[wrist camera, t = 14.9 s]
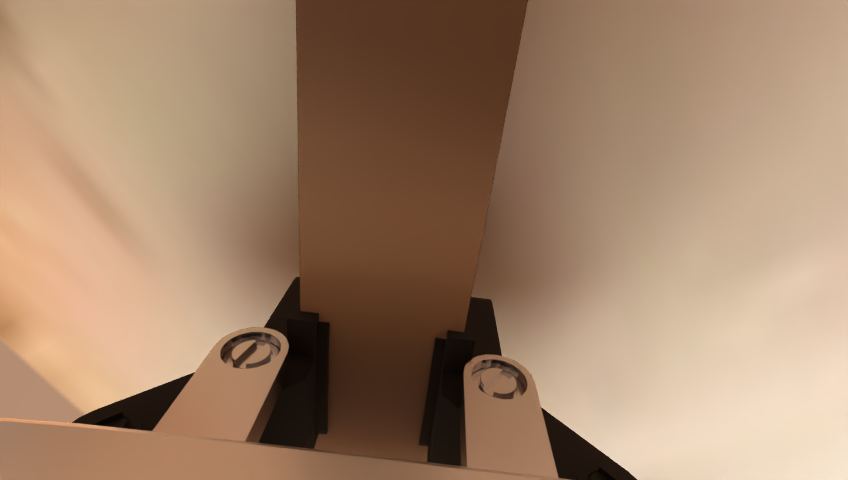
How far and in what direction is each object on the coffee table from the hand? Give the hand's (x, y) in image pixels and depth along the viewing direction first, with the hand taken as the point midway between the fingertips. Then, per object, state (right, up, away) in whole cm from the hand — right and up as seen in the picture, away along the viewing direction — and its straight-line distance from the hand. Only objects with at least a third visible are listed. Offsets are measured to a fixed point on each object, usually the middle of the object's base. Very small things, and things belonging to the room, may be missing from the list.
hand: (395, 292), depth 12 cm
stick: (0, 0, +1) cm, 1 cm away
